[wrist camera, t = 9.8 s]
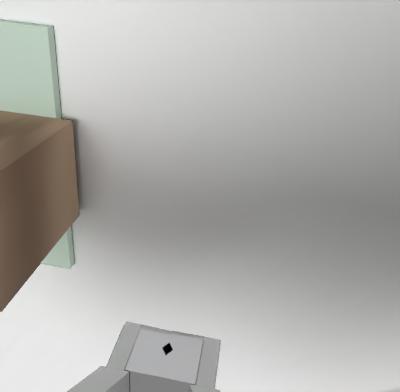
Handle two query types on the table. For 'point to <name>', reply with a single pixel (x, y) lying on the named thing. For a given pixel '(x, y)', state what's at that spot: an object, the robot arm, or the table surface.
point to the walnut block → (33, 194)
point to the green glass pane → (32, 92)
